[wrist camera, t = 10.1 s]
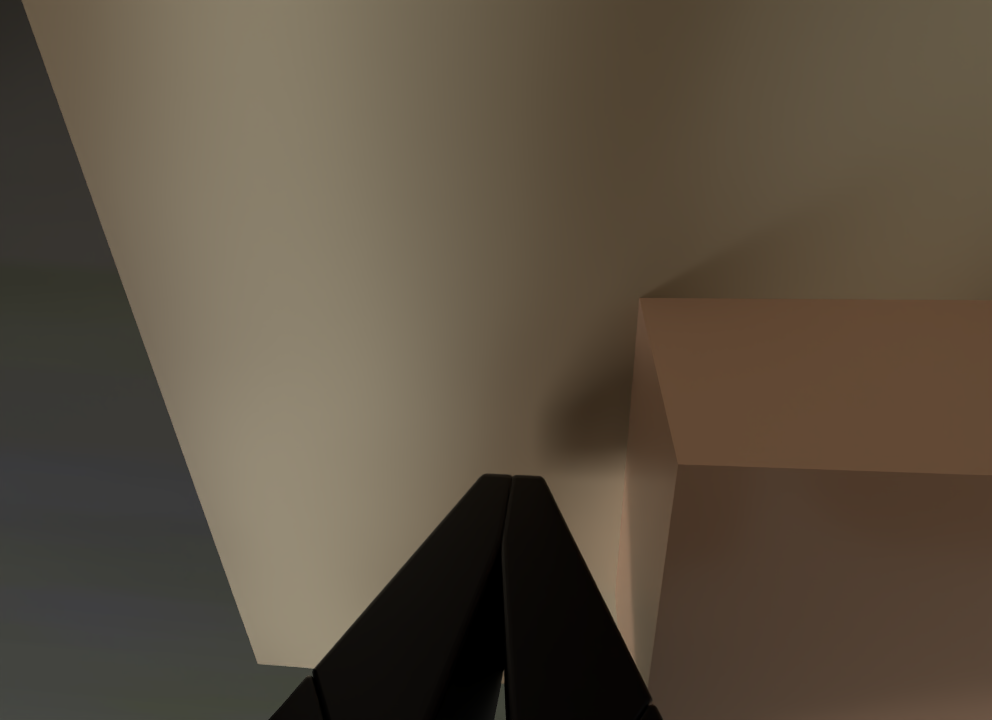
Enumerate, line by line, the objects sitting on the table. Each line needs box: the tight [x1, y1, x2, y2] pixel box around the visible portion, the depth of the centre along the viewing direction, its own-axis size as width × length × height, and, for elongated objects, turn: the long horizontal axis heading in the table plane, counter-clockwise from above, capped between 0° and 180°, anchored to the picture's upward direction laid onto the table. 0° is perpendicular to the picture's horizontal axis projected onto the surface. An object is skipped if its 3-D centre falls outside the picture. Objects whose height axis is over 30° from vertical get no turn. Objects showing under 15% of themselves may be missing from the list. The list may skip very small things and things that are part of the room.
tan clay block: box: [615, 298, 992, 720], centre depth 7 cm, size 5×5×3 cm
